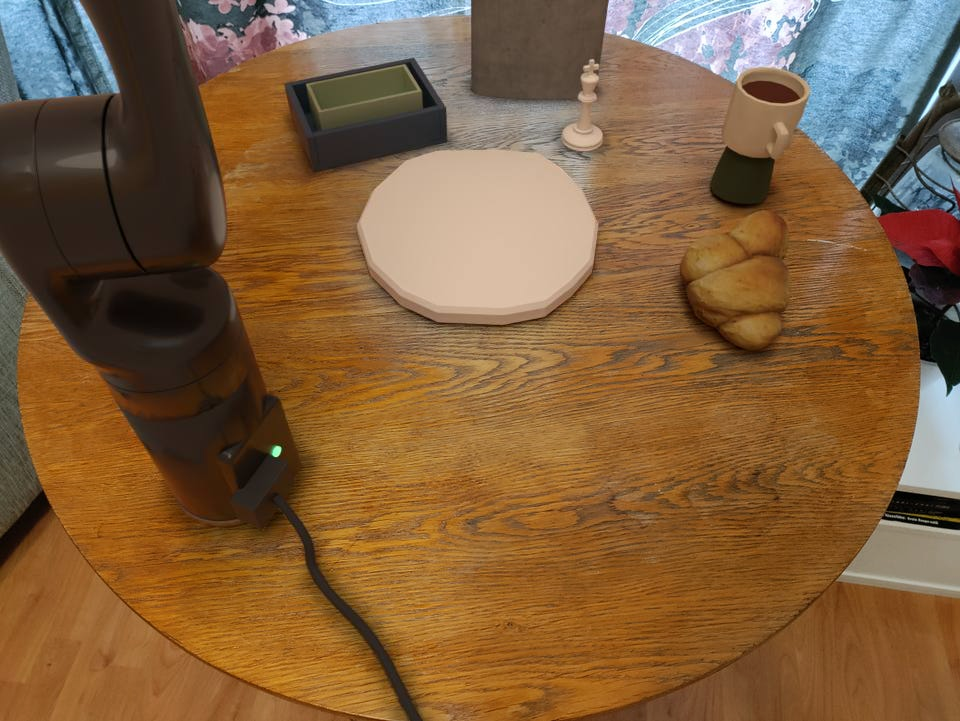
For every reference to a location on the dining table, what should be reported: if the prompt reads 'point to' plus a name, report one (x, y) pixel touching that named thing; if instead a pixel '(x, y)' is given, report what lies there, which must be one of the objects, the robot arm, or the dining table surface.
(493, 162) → the decorative plate
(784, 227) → the bread roll
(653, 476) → the dining table surface
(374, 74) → the small bin
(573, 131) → the chess piece
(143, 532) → the dining table surface
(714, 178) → the character mug
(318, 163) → the big bin
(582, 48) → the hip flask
